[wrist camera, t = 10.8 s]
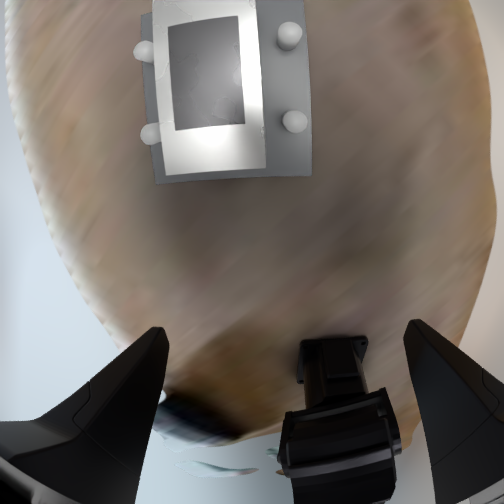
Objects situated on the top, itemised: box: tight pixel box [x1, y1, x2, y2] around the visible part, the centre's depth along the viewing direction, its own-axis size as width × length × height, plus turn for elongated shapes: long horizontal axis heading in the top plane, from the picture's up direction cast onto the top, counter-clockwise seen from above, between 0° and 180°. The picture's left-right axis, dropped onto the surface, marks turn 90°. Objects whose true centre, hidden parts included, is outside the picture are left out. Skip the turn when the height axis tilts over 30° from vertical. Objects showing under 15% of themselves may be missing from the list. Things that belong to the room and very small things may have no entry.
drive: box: [152, 0, 267, 176], centre depth 12 cm, size 9×4×5 cm, turn 3°
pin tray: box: [134, 0, 312, 185], centre depth 14 cm, size 12×10×3 cm
